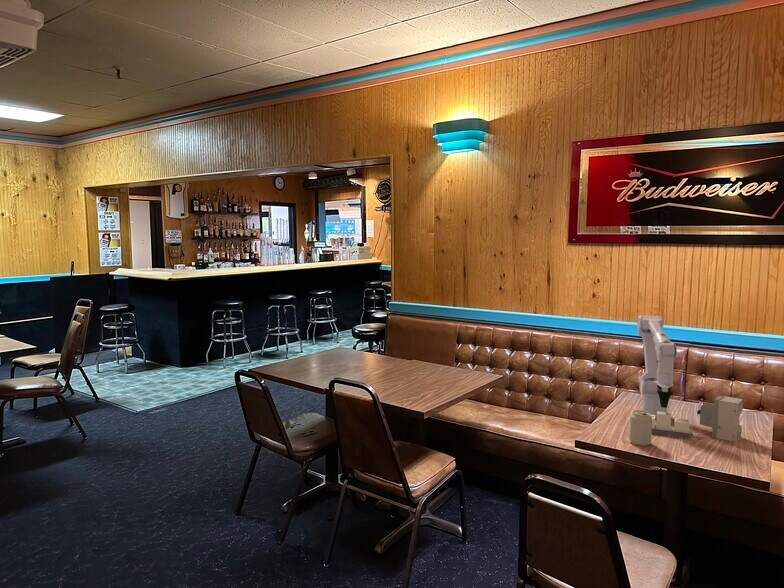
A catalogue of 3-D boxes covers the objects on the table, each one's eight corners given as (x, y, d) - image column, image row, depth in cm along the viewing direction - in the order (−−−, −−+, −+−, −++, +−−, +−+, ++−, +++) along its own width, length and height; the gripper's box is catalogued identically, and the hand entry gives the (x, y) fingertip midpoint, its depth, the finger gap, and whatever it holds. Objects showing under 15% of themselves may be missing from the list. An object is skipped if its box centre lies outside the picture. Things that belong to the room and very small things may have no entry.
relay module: (656, 428, 209) (656, 413, 209) (656, 425, 213) (656, 410, 213) (670, 430, 207) (671, 415, 206) (670, 427, 211) (670, 412, 210)
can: (652, 448, 193) (653, 416, 192) (629, 445, 196) (631, 414, 195) (649, 440, 200) (651, 410, 199) (628, 438, 203) (629, 408, 202)
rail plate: (639, 431, 210) (639, 418, 210) (639, 424, 218) (640, 411, 218) (690, 438, 202) (691, 424, 202) (689, 431, 210) (690, 417, 210)
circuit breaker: (700, 428, 214) (702, 392, 213) (741, 437, 204) (743, 399, 203) (694, 432, 209) (696, 395, 208) (736, 442, 199) (738, 403, 197)
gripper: (654, 367, 222) (652, 398, 223) (654, 375, 209) (652, 408, 210) (673, 369, 218) (671, 401, 220) (674, 376, 205) (672, 410, 207)
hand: (663, 404), depth 215 cm, fingers open, 7 cm apart
